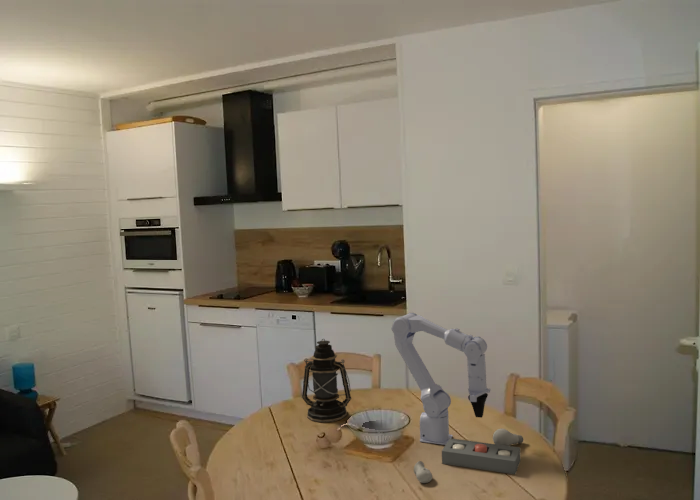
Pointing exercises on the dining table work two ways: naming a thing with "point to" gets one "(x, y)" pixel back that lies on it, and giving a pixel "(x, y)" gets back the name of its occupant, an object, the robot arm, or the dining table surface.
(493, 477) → the dining table surface
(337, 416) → the lantern
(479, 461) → the grey socket block
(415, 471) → the smooth white sculpture
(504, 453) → the right plug
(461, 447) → the left plug
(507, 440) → the lightbulb
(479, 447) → the red plug
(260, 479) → the dining table surface
